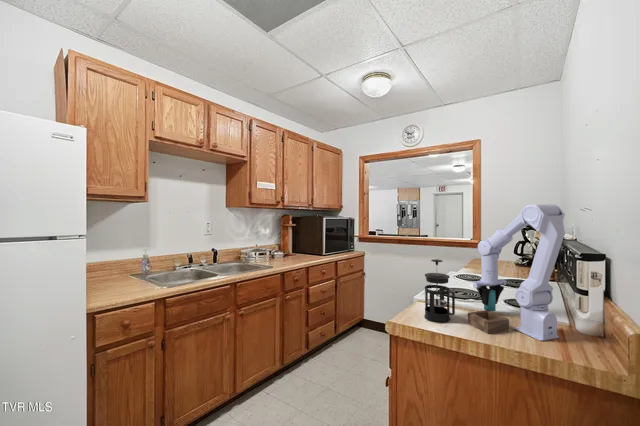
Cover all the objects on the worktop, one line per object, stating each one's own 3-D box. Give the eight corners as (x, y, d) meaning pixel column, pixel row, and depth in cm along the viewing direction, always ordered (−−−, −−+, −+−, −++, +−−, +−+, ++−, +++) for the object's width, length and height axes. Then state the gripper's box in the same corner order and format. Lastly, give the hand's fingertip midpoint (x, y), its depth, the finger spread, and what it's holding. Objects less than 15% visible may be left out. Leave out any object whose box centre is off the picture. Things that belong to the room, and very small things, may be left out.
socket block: (509, 330, 98) (509, 319, 98) (487, 333, 95) (487, 322, 95) (487, 320, 106) (487, 310, 106) (467, 323, 104) (467, 312, 104)
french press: (418, 317, 110) (417, 259, 109) (429, 311, 116) (429, 256, 116) (448, 327, 101) (448, 263, 101) (459, 319, 108) (458, 260, 107)
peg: (498, 310, 112) (497, 291, 112) (489, 312, 111) (489, 291, 111) (489, 307, 116) (489, 288, 115) (481, 308, 115) (481, 289, 114)
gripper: (495, 267, 119) (495, 298, 119) (466, 269, 115) (467, 302, 115) (510, 270, 112) (510, 304, 112) (480, 273, 108) (481, 308, 108)
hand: (489, 303), depth 113 cm, fingers closed on peg, 4 cm apart
